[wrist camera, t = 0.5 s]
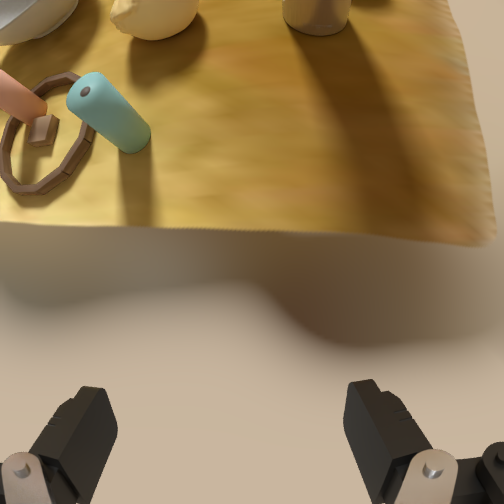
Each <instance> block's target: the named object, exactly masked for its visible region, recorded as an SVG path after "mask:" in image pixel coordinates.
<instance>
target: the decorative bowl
mask: <svg viewBox="0 0 504 504" xmlns="http://www.w3.org/2000/svg"><path fill="white" fill-rule="evenodd" d="M77 4H78V0H0V46H5V45H14V44H18V43H22V42H25V41H28V40H30V39H33V38H34V39H37V38H41V37H43V36H46V35H47V34H49V33H51V32H52V31H54V30H55V29H56V28H58V27H59V26H60V25H61V24H62V23H64V22H65V21H66V20H67V19H68V17H69V16H70V15H71V14H72V13H73V11H74V10H75V8H76V6H77Z"/></svg>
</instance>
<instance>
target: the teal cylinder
mask: <svg viewBox="0 0 504 504" xmlns="http://www.w3.org/2000/svg"><path fill="white" fill-rule="evenodd" d="M66 104H67V107H68V109H69V110H70V111H71V112H72V113H74V114H75V115H76V116H78V117H79V118H80V119H82V120H83V121H84V122H85V123H87V124H88V125H89V126H91V127H92V128H93V129H94V130H96V131H97V132H98V133H100V134H101V135H102V136H104V137H105V138H106V139H107V140H109V141H110V142H111V143H113V144H114V145H115V146H116V147H118V148H119V149H120V150H122V151H123V152H125V153H128V154H132V153H136V152H138V151H140V150H141V149H143V148H144V147H145V146H146V144H147V143H148V141H149V139H150V135H151V131H150V127H149V125H148V124H147V123H146V122H145V121H144V120H143V119H142V117H141V116H140V115H139V114H138V113H137V112H136V111H135V110H134V109H133V107H132V106H131V105H130V104H129V103H128V102H127V101H126V100H125V99H124V97H123V96H122V95H121V94H120V93H119V92H118V91H117V90H116V89H115V88H114V86H113V85H112V84H111V83H110V82H109V81H108V80H107V79H106V78H105V76H104V75H103V74H101V73H99V72H92V73H88V74H86V75H84V76H82V77H81V78H80V79H79V80H77V81H76V82H75V83H74V85H73V86H72V87H71V89H70V91H69V93H68V95H67V100H66Z"/></svg>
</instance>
